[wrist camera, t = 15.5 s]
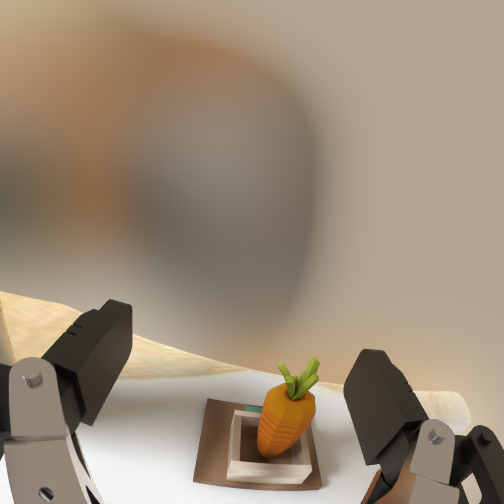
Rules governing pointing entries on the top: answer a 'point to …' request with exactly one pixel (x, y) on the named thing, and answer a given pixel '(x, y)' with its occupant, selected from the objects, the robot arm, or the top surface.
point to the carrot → (287, 411)
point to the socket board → (250, 453)
